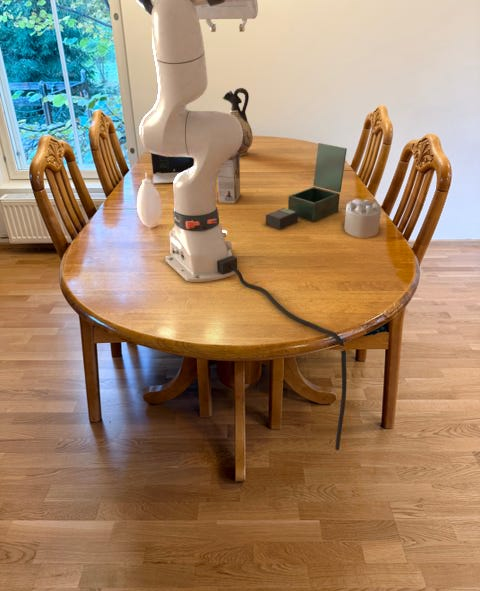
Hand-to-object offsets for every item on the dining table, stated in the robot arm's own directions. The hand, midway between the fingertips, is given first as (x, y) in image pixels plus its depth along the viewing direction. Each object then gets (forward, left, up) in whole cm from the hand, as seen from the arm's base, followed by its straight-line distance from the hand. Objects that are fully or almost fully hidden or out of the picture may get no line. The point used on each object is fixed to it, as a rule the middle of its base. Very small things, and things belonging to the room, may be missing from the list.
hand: (227, 30), depth 158 cm
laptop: (+26, +16, -55) cm, 62 cm away
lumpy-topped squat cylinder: (-49, -26, -55) cm, 78 cm away
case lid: (-27, -26, -40) cm, 55 cm away
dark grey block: (-35, -5, -54) cm, 65 cm away
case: (-30, -19, -54) cm, 65 cm away
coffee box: (-6, +3, -55) cm, 55 cm away
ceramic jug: (+54, -22, -55) cm, 80 cm away
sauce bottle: (-22, +35, -55) cm, 68 cm away
